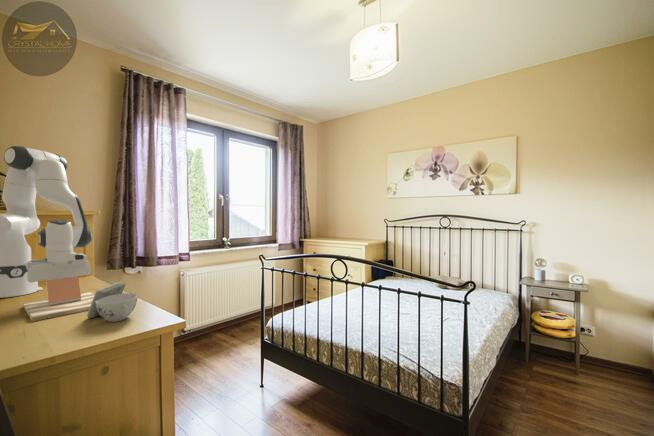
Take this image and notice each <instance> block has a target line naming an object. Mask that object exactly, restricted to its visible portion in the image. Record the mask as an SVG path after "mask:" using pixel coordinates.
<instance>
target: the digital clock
mask: <svg viewBox="0 0 654 436" xmlns="http://www.w3.org/2000/svg"><path fill="white" fill-rule="evenodd" d="M125 286H126V283H125V281H118V282H115V283H112V284H110V285H108V286H105V287H102V288H100V289H98V290H96V291H95V293H94V298H93V301H92V303H91V306H90V308H89V310H87V314H86V317H87V319H94V318H96V317H102V316H101V315H100V314H99V312H98V310H97V308H96V304H95V301H97V300H99V299H101V298H104V297H107V296H111V295H116V294H122V293H124V289H125Z"/></svg>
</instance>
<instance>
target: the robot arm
mask: <svg viewBox="0 0 654 436" xmlns="http://www.w3.org/2000/svg"><path fill="white" fill-rule="evenodd" d="M3 160H4V162H5V164H6V165H7V166H8V167H9V168H8V170H7V173H6V176H5V178H4V185H3V189H2V195H1V200H2V202H3V203H4V204H5V208H6V212H5V213H0V299H2V298H3V299H4V298H11V297H18V296H19V297H20V296H24V295H28V294H32V293H36V292H40V291H43V290H44V289H43V287H41V286H39V283H38V282H44V281H45V282H46V281H48V280H55V279H63V278H71V277H82V276H89V275H90V274H91V264H90V262H89V260H87V259H88V255H86V254H84V253H81V252H80V253H79V252H75V251H74V248H84V247H86V246H88V245H89V244H91V242H92V240H93V239H92V238H93V235H92V234H93V233H92V232H91V230H90V227H89V225H88V223H87V219H86V215H85V213H84V208H83V206H82V204H81V200H80V198H79V197H78V195H77V194H75V193H73V191H71V189H70V188H69V187H70V186H69V184H68V176H67V175H68V174H67V172H66V171H67V170H68V162H67V159H66V158H65V157H63V156H61V155H59V154H56V153H51V152H49V151H46V150H42V149H35V148H31V147H30V148H29V147H26V146H25V147H24V146H21V145H20V146H19V145H13V146H10V147H8V148H6V150H5V152H4V153H3ZM37 195H38V196H39V197H40V198H41V199H42V200H45V201H46V202H49V203H52V204H56V205H60V206H63V207H64V208H67V209H68V210H69V211H70V213H71V216H72V219H73V222H74V225H75V226H73V225H72V222H71V221H69V220H66V219H53V220H50V221H48V222H47V224H46V227H44V228H42V229H41V230H40V231H38V230H39V229H40V227H41V221H40V219H39V218H38V215H37V209H36V199H37V198H36V197H37ZM37 231H38V233H37V235H38V236H37V237H38V240H37V241H38V242H37V243H38V244H37V245H38V246H40V247H41V248H43V249H46V250H45V257H44V258H38V259H37V258H36V259H32V247H31V246H30V244H29V243H27V240H26V238H25V236H26V235H30V234H32V233H35V232H37Z"/></svg>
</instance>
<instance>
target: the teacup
mask: <svg viewBox="0 0 654 436" xmlns="http://www.w3.org/2000/svg"><path fill="white" fill-rule="evenodd" d="M138 297H139V296H138V294H136V293H132V292H131V293H126V292H122V294H116V295H111V296H107V297H104V298H101V299H99V300H97V301H95V304H96V308H97V310H98V312H99V314H100V315H101V316H100V317H102V318H104V319H105V320H106V321H107V322H109V323H110V322H113V323H115V322H120V321H124V320H125V319H127V318H128V317H129V316H130V315H131V313H132V312H133V311H134V309H135V308H136V305H137V301H138Z"/></svg>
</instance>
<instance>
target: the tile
mask: <svg viewBox="0 0 654 436" xmlns="http://www.w3.org/2000/svg"><path fill="white" fill-rule="evenodd" d="M45 283H46V292H47V299H48V304H49V306H51V305H56V304H62V303H67V302H73V301H78V300H81V294H82V293H81V287H80V281H79V276H76V277H69V278H61V279H55V280H46V281H45Z"/></svg>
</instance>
